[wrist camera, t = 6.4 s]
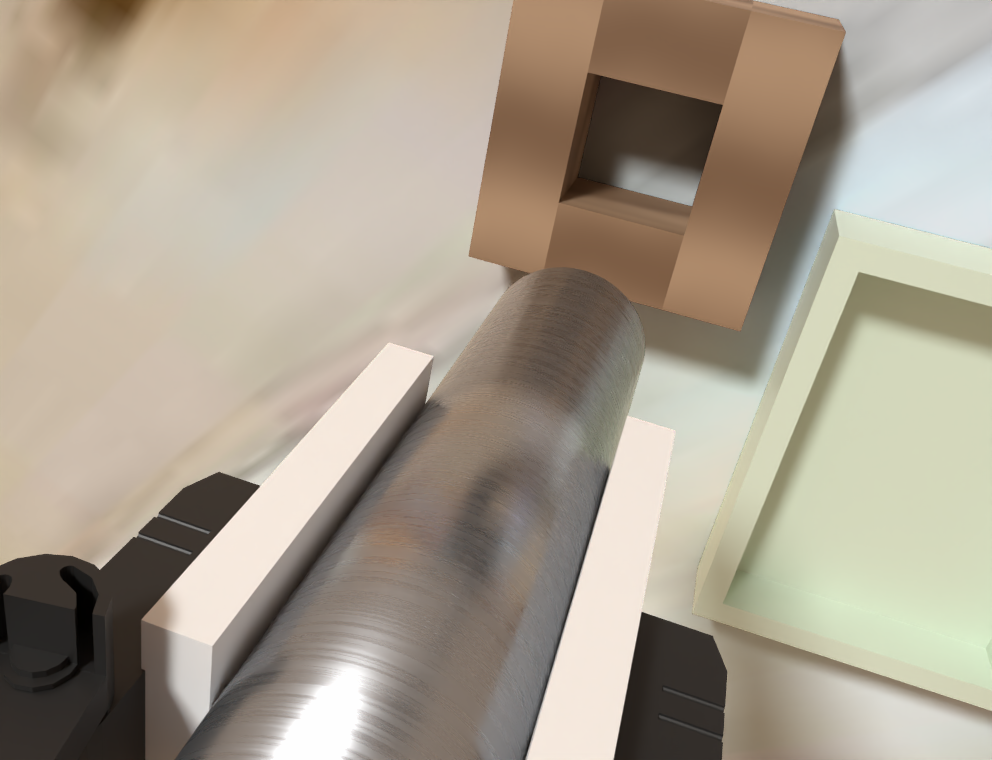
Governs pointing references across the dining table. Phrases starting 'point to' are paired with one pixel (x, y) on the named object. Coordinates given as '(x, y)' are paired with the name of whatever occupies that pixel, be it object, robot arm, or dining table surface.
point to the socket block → (631, 215)
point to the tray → (871, 468)
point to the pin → (452, 552)
